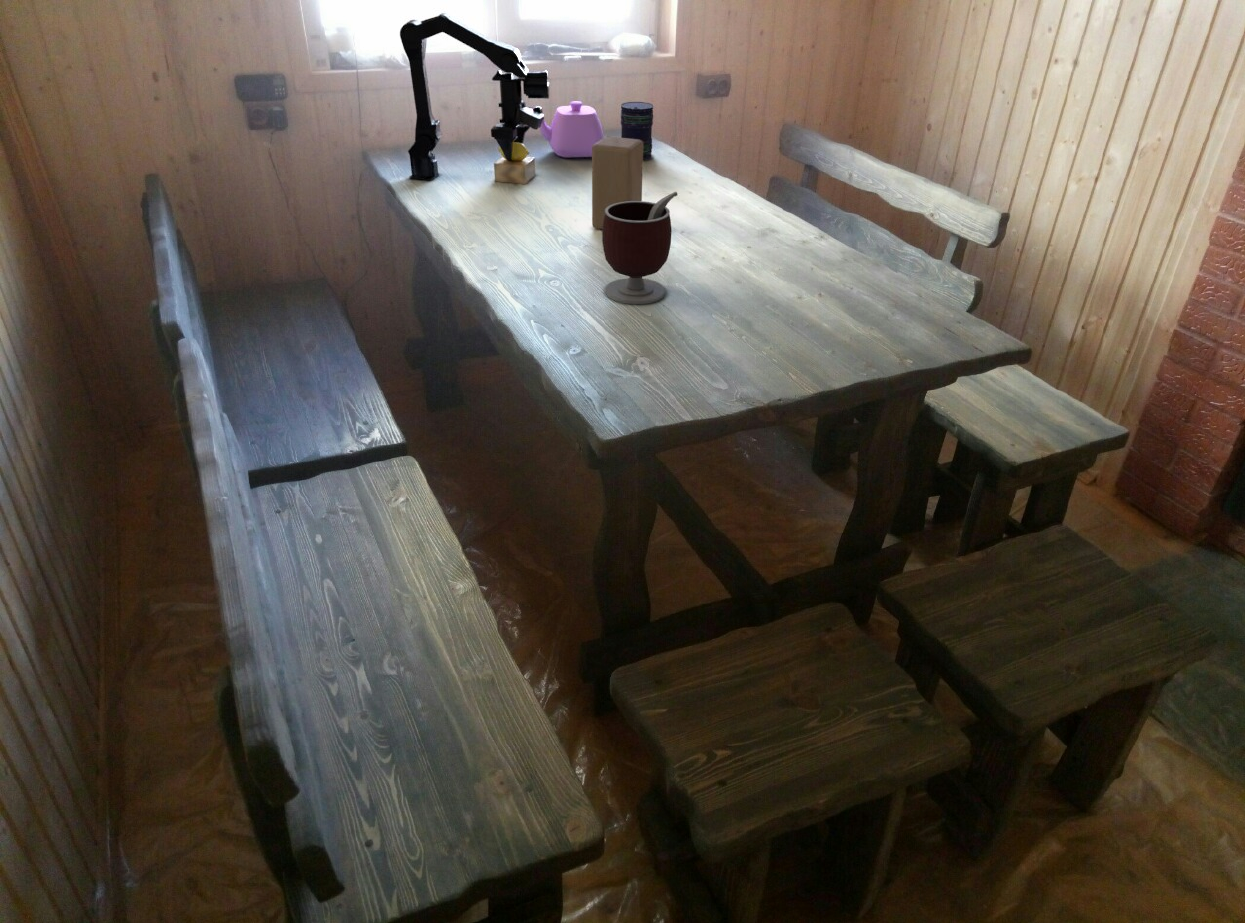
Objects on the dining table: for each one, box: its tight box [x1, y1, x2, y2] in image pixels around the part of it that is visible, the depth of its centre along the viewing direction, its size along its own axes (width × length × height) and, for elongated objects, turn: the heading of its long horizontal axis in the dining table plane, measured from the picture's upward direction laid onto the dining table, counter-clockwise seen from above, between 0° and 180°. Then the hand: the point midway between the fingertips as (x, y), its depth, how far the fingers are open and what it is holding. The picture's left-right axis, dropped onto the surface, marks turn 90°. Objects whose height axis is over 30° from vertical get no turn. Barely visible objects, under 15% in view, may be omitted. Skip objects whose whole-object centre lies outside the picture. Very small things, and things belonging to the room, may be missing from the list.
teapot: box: [527, 100, 604, 159], centre depth 268 cm, size 23×21×15 cm
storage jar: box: [620, 101, 654, 162], centre depth 265 cm, size 10×10×15 cm
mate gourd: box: [601, 191, 678, 305], centre depth 177 cm, size 16×14×20 cm
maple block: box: [493, 156, 536, 185], centre depth 247 cm, size 9×9×5 cm
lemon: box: [498, 142, 530, 161], centre depth 244 cm, size 9×5×5 cm, turn 77°
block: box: [591, 135, 644, 230], centre depth 211 cm, size 10×10×20 cm
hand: (514, 157), depth 245 cm, fingers open, 8 cm apart
